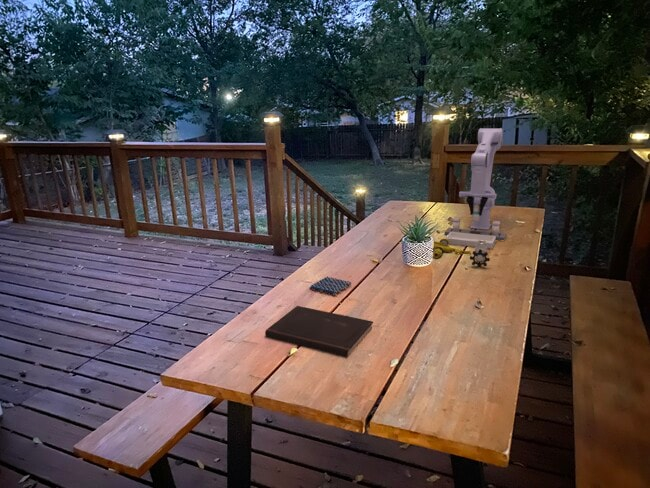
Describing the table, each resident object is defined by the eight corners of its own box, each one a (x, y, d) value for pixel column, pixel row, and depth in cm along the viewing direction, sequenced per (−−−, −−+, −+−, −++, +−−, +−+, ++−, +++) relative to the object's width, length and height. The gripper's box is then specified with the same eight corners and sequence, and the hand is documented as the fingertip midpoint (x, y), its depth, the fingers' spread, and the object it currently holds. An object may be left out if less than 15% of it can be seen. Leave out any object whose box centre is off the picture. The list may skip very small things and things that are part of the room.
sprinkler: (415, 244, 169) (425, 233, 182) (413, 254, 170) (423, 242, 183) (468, 258, 162) (474, 244, 174) (465, 268, 163) (472, 254, 176)
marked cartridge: (472, 219, 191) (473, 203, 189) (480, 219, 190) (481, 203, 188) (471, 220, 189) (472, 204, 187) (478, 221, 188) (480, 205, 186)
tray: (450, 237, 191) (450, 231, 191) (495, 242, 183) (495, 236, 183) (445, 244, 183) (445, 238, 182) (492, 249, 175) (492, 243, 174)
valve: (471, 256, 169) (468, 267, 158) (472, 239, 167) (470, 249, 156) (490, 257, 166) (489, 269, 156) (491, 240, 164) (490, 250, 154)
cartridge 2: (491, 236, 191) (492, 220, 189) (499, 237, 190) (500, 221, 187) (490, 238, 188) (491, 222, 186) (498, 239, 187) (499, 222, 185)
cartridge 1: (452, 232, 198) (453, 217, 196) (459, 233, 197) (460, 217, 194) (451, 234, 195) (452, 218, 193) (458, 235, 194) (459, 219, 192)
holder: (448, 230, 201) (448, 227, 200) (505, 236, 190) (506, 233, 190) (444, 235, 195) (444, 231, 194) (503, 241, 184) (504, 237, 184)
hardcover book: (297, 312, 129) (297, 305, 128) (373, 329, 118) (373, 321, 118) (265, 338, 115) (264, 330, 114) (347, 359, 105) (347, 351, 104)
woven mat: (353, 287, 145) (353, 281, 145) (335, 298, 137) (335, 292, 136) (326, 280, 151) (326, 275, 150) (307, 291, 142) (307, 285, 142)
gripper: (458, 182, 184) (456, 215, 189) (496, 184, 178) (493, 218, 182) (461, 180, 190) (459, 211, 195) (498, 182, 184) (495, 214, 188)
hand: (476, 214), depth 189 cm, fingers closed on marked cartridge, 3 cm apart
